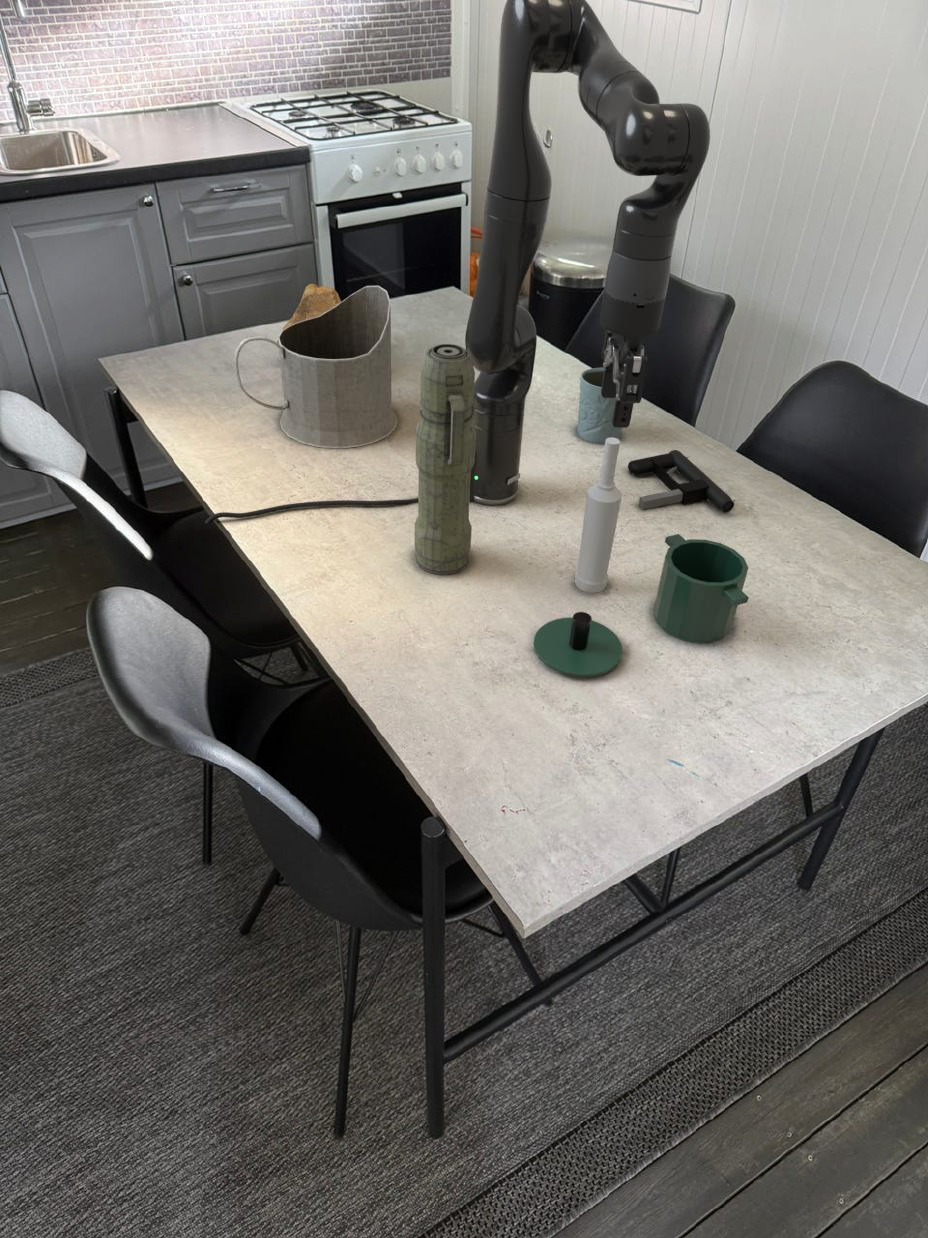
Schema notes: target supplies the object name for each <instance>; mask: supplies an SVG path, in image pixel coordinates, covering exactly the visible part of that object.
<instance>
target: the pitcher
mask: <svg viewBox="0 0 928 1238" xmlns="http://www.w3.org/2000/svg"><path fill="white" fill-rule="evenodd" d="M391 307H392V306H391V298H390V296H389V293H388V291H387V290H386V289H384V288H383V287H381V286H380V285H366V286H364V287H362V288H360V289H359V290H357V291H355V292H353V293H352V294H350V295H349V296H348V297H346V298H345V299H344V300H341V303H339V304H338V305H337V306H335V307H334V308H332V309H330V310H329V311H327V312H325V313H323V314H322V315H320V316H318V317H314V318H311V319H307V320H304V321H301V322H298V323H295V324H292V325H290V326H289V327H287V328H286V329H284V330H283V329H282V330H281V332H280V334H279V335H278V338H277V341H278V340H279V344H278V343H277V341H275V340H273V339H271V338H269V337H266V336H257V335H255V336H249V337H246V338H244V339H243V340H241V341H240V342H239V343H238V345H237V347H236V348H235V352H234V356H233V363H234V364H233V365H234V373H235V377H236V381H237V384H238V387H239V388H240V390H241V391H242V392H243V393H244V394H245V396H247V397H248V398H249V399H250V400H251V401H253V402H254V403H256V404H257V405H260V406H261V407H264V408H267V409H270V410H275V411H282V414H281V417H280V420H279V423H280V428H281V430H282V431H283V432H284V433H285V434H286V436H288V437H289V438H290V439H293V440H294V441H296V442H299V443H300V444H304V445H307V446H308V445H309V446H313V447H317V448H323V449H350V448H358V447H363V446H366V445H370V444H374V443H376V442H378V441H381V440H383V439H385V438H387V437H388V436H389V435H390V434H391V433H392V432H394V430H395V429H396V426H397V422H398V418H397V416H396V413H395V411H394V408H393V406H392V405H393V404H392V403H393V402H392V401H393V400H392V399H393V397H392V316H391V315H392V313H391V310H392V309H391ZM253 341H254V342H255V341H264V342H267V343H271V344H272V345H275V346H276V347H277V348H278V349H279V350H278V351H279V361H280V362H279V363H280V373H281V384H282V393H283V395H282V396H283V405H279V406H277V405H272V404H268V403H264V402H262V401H260V400H258V399H256V398H255V397H253V396H252V395H251V394H249V393H248V392H247V391H246V390H245V388H244V386H243V384H242V380H241V375H240V370H239V369H240V368H239V356H240V352H241V351H242V349H243V348H244V346H245V345H247V344H248V343H249V342H253Z"/></svg>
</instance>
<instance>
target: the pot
mask: <svg viewBox="0 0 928 1238" xmlns="http://www.w3.org/2000/svg"><path fill="white" fill-rule="evenodd" d="M664 538H665V539H664V543H665V544H666V545H667V546H668V549H667V551H666V554H665V556H664V560H663V565H662V569H661V574H660V579H659V583H658V587H657V588H658V589H657V593H656V598H655V601H654V607H653V618H654V621H655V622H656V624H657V625H658V627H659V628H660V629H662V631H664V632H665V633H666V634H668V635H670V637H674V638H675V639H678V640H680V641H684V642H688V643H693V644H709V643H715V642H718V641H720V640H723V639H724V638H726V637H727V636H728V635H729V634H730V632H731V630H732V627H733V623H734V620H735V616H736V613H737V610H738V607H739V606H740V605H744V604H747V603H748V601H749V598H750V596H748V595H747V594H746V593H745V592H744V591H743V589H744V585H745V582H746V579H747V576H748V570H749V565H748V563H747V561H746V559H745V557H743V555H741V554H740V553H739V552H738V551H737V550H736V549H734V548H732V547H730V546H728V545H725V544H724V543H721V542H717V541H713V540H709V539H698V538H697V539H696V538H693V539H691V538H690V539H685V538H684V537H683V536H681V534H680V533H677V534H673V535H667V536H665V537H664Z"/></svg>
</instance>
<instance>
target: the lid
mask: <svg viewBox="0 0 928 1238" xmlns="http://www.w3.org/2000/svg"><path fill="white" fill-rule="evenodd" d="M592 619H593V618H592V616H591V615H590V614H589V613H587V612H584V611H577V612H575V613H574V614H573V615H572V617H560V618H556V619H553V620H551V621H548V622H546V623H545V624H543V625H542V626H540V628H538V629H537V631H536V633H535V635H534V638H533V648H534V652H535V654H536V656H537V658H538V659H539V660H540V661H541V662H542V663H543V664H544V665H545V666H547V667H548V668H549V669H551V670H553V671H555V672H557V673H560V674H563V675H566V676H570V677H577V678H589V677H597V676H601V675H604V674H607V673H608V672H610V671H612V670H613V669H615V667H617V665H619V663H620V661H621V660H622V655H623V646H622V642H621V640H620V639H619V636H617V634H616V633H615V632H614V631H612V629H610V628H609V627H607V626H605V625H604V624H602V623H600V622H597V621H595V620H592Z"/></svg>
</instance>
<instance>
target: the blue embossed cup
mask: <svg viewBox="0 0 928 1238" xmlns="http://www.w3.org/2000/svg"><path fill="white" fill-rule="evenodd" d="M604 370H606V369H604V368H603V367H593V368H589V369H586V370H584V371H582V372H581V373H580V379H579V391H580V392H579V397H578V399H579V401H578V404H579V405H578V415H577V416H578V417H577V419H578V420H577V428H576V429H577V431H576V432H577V435H578V437H579V438H580V439H582V440H584V441H586V442H588V443H592V444H599V445H605V441H606V439H607V438H617V439H619V437H620V435H621V431H622V428H619V427H614V426H613V424H612V419H613V413H614V407H615V401H616V397H615V398H604V397H602V395H601V388H602V382H603V376H604ZM621 375H623V373H621ZM631 388H632V385H629V386H628V387H627V391H630V392H631Z"/></svg>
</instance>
